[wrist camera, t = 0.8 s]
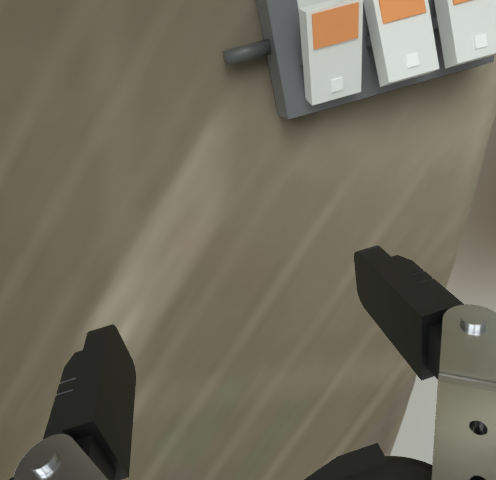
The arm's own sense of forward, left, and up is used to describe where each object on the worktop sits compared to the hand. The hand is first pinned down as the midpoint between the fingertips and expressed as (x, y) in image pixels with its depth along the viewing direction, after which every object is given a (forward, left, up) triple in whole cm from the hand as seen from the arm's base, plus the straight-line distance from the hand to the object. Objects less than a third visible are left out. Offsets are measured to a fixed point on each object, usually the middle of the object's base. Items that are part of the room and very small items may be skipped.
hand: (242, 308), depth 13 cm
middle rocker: (-5, +19, -22) cm, 30 cm away
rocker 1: (-5, +13, -22) cm, 26 cm away
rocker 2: (-5, +25, -22) cm, 34 cm away
